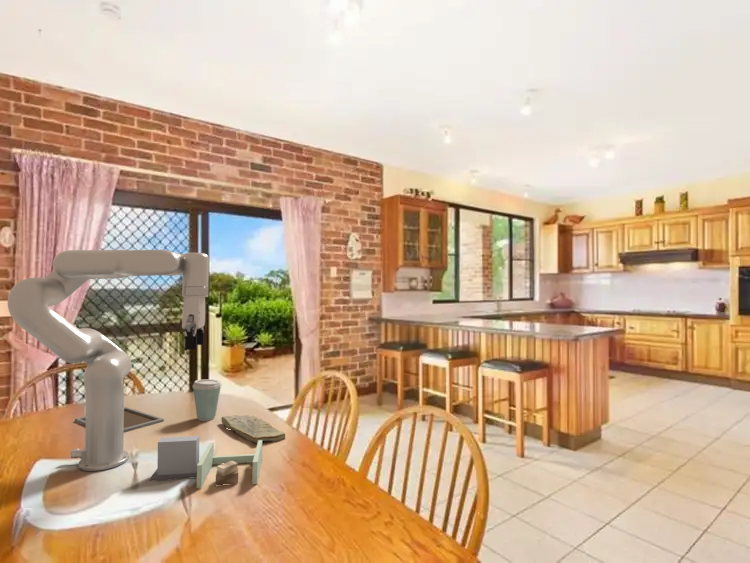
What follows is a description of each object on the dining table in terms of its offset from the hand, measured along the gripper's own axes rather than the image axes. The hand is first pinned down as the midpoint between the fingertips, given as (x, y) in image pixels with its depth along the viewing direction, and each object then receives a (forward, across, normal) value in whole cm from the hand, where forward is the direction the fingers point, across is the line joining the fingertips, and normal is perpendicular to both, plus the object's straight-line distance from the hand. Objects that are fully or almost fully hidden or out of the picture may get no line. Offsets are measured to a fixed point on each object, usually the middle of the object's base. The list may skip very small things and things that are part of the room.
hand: (194, 346), depth 132 cm
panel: (+33, +14, 0) cm, 36 cm away
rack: (+33, +16, +14) cm, 40 cm away
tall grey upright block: (+33, +14, -1) cm, 36 cm away
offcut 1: (+31, +22, +14) cm, 40 cm away
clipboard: (+34, -37, -36) cm, 62 cm away
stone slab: (+34, -18, +15) cm, 42 cm away
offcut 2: (+34, +21, +14) cm, 42 cm away
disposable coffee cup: (+34, -35, -3) cm, 49 cm away
